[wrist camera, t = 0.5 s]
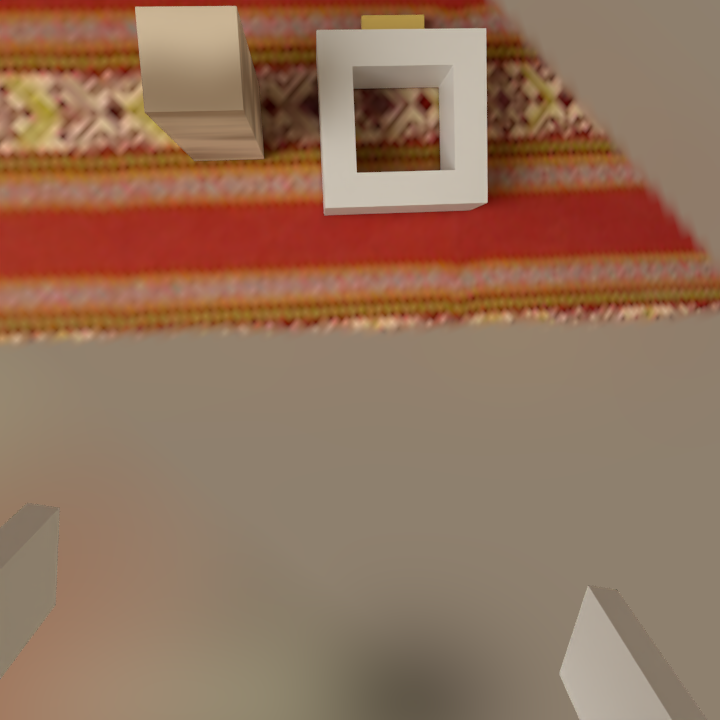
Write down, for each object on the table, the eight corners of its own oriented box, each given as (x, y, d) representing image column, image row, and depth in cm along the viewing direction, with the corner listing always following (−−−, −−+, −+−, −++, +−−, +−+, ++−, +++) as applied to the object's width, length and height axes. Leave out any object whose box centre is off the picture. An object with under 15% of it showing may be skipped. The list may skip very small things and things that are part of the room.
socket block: (314, 19, 36) (314, -12, 32) (467, 18, 37) (485, -13, 33) (324, 215, 38) (324, 208, 34) (470, 210, 39) (487, 202, 35)
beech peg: (188, 87, 36) (135, 6, 25) (259, 86, 37) (236, 5, 26) (194, 160, 37) (144, 112, 26) (264, 158, 37) (243, 110, 26)
